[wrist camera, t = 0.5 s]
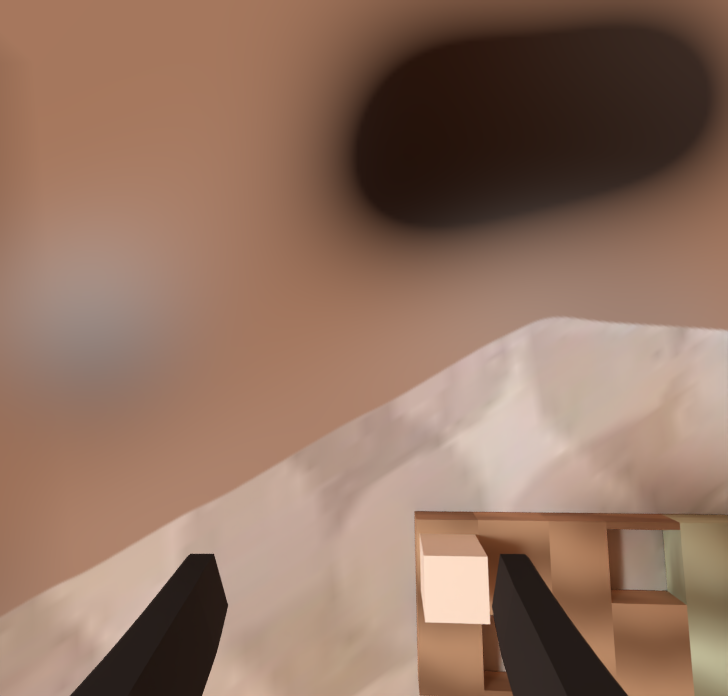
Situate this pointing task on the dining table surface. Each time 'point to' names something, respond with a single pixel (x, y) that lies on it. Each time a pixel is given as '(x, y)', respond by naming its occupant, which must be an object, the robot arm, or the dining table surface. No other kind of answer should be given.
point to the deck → (595, 601)
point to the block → (454, 579)
